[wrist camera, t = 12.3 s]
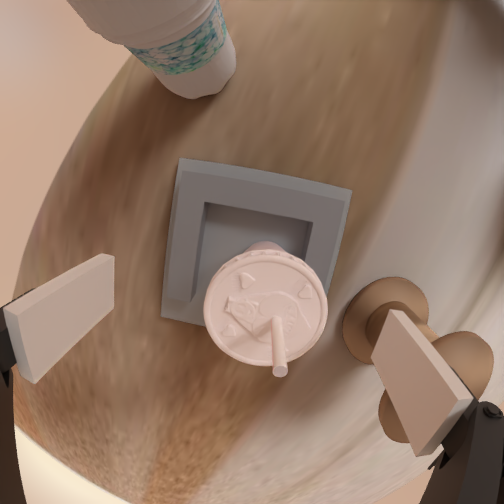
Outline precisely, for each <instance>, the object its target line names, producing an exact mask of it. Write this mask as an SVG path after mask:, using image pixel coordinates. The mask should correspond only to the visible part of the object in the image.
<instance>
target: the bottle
mask: <svg viewBox="0 0 504 504" xmlns="http://www.w3.org/2000/svg"><path fill="white" fill-rule="evenodd" d="M67 1H68V3H69V4H70V5H71V6H72V7H73V8H74V10H75V11H76V12H77V13H78V14H79V16H80V17H81V18H82V19H83V20H84V22H85V23H86V25H87V26H88V27H89V28H90V29H91V30H92V31H94V32H95V33H98V34H101V35H102V37H103V38H105V39H106V40H108V41H110V42H112V43H115V44H121V45H124V46H125V47H126V48H127V49H128V50H129V51H131V52H132V53H133V54H134V55H135V56H136V57H137V58H138V59H139V60H140V61H142V62H143V63H144V64H145V65H146V66H147V67H148V68H150V69H151V71H152V72H153V73H154V74H155V76H156V77H157V78H158V79H159V81H160V82H161V83H162V84H163V85H164V86H165V87H166V88H167V89H169V90H170V91H172V92H173V93H175V94H177V95H180V96H182V97H185V98H187V99H197V98H199V97H202V96H206V95H210V94H216V93H218V92H220V91H221V90H222V89H223V87H224V86H225V84H226V83H227V81H228V80H229V79H230V77H231V76H232V75H233V74H234V72H235V69H236V54H235V49H234V46H233V43H232V40H231V38H230V36H229V33H228V31H227V29H226V25H225V21H224V17H223V14H222V10H221V7H220V3H219V0H67Z"/></svg>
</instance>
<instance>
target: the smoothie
mask: <svg viewBox="0 0 504 504" xmlns="http://www.w3.org/2000/svg"><path fill="white" fill-rule="evenodd" d="M203 313H204V321H205V325H206V328H207V330H208V333H209V335H210V336H211V338H212V339H213V341H214V342H215V344H216V345H217V346H218V347H219V348H220V349H221V350H222V351H224V352H225V353H226V354H227V355H229V356H231V357H232V358H234V359H236V360H238V361H241V362H244V363H247V364H251V365H257V366H273V374H274V375H275V376H277V377H283V376H285V375H286V374H287V373H288V368H287V362H290V361H292V360H294V359H296V358H298V357H300V356H302V355H303V354H304V353H306V352H307V351H308V350H309V349H310V348H311V347H312V346H313V345H314V344H315V343H316V342H317V341H318V339H319V338H320V336H321V334H322V332H323V330H324V328H325V325H326V321H327V314H328V305H327V299H326V295H325V292H324V289H323V286H322V283H321V281H320V280H319V278H318V277H317V275H316V273H315V272H314V270H313V269H312V268H311V267H309V266H308V265H307V264H306V263H305V262H304V261H303V260H301V259H299V258H297V257H295V256H293V255H291V254H289V253H287V252H286V251H284V250H283V249H282V248H281V247H280V246H279V245H278V244H276V243H274V242H270V241H260V242H257V243H254V244H253V245H251V246H250V247H249V248H248V249H247V250H246V251H245V252H244V253H243V254H240V255H237V256H235V257H234V258H232V259H231V260H229V261H228V262H226V263H225V264H223V265H222V267H221V268H220V269H219V270H218V271H217V272H216V274H215V275H214V276H213V278H212V280H211V282H210V284H209V286H208V289H207V292H206V296H205V300H204V307H203Z"/></svg>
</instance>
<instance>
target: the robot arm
mask: <svg viewBox="0 0 504 504" xmlns="http://www.w3.org/2000/svg"><path fill="white" fill-rule="evenodd" d="M114 260H115V256H112V255H108V254H104V253H101V254H99V255H97V256H95V257H93V258H91V259H89V260H87V261H85V262H83V263H81V264H79V265H77V266H76V267H74V268H72V269H70V270H68V271H66V272H64V273H63V274H61V275H59V276H57V277H55V278H54V279H52V280H50V281H48V282H46V283H45V284H43V285H41V286H39V287H37V288H34V289H31V290H30V291H28V292H26V293H24V295H21V296H19V297H18V298H17V299H14V300H12V301H11V302H9V303H7V304H6V305H4V306H2V307H1V308H0V504H27V503H26V499H25V495H24V490H23V486H22V481H21V476H20V470H19V464H18V458H17V449H16V441H15V430H14V413H13V372H12V369H11V367H12V366H14V365H15V364H16V363H17V366H18V369H19V373H20V376H22V377H23V378H25V379H27V380H28V381H30V382H32V383H33V384H36V383H37V382H38V381H39V380H40V379H41V378H42V377H43V376H44V375H45V374H46V373H47V372H48V371H49V370H50V369H51V368H52V367H53V366H54V365H55V364H56V363H57V362H58V361H59V360H60V359H61V358H62V357H63V356H64V355H65V354H66V353H67V352H68V351H69V350H70V349H71V348H72V347H73V346H74V345H75V344H76V343H77V342H78V341H79V340H80V339H81V338H82V337H84V336H85V335H86V334H87V333H88V332H89V331H90V330H91V329H92V328H93V327H94V326H95V325H96V324H97V323H98V322H99V321H101V320H102V319H103V318H104V317H105V316H106V315H107V314H108V313H109V312H110V311H111V310H113V309H114ZM371 359H372V361H373V363H374V365H375V367H376V369H377V372H378V374H379V376H380V378H381V380H382V382H383V384H384V386H385V388H386V390H387V393H388V395H389V397H390V399H391V401H392V403H393V406H394V408H395V410H396V412H397V414H398V417H399V419H400V421H401V423H402V426H403V428H404V430H405V433H406V435H407V437H408V439H409V442H410V444H411V447H412V449H413V451H414V454H415V456H416V457H418V456H424V455H430V454H432V453H433V452H434V451H435V450H436V449H437V447H438V446H439V445H440V444H442V446H443V448H444V450H443V451H442V452H441V454H440V455H439V456H438V457H437V458H436V459H435V460H434V461H433V463H432V464H431V465H430V466H429V467H428V469H429V470H430V469H431V468H432V467H433V466H435V468H434V470H433V473H432V476H431V478H430V480H429V483H428V485H427V488H426V490H425V492H424V494H423V497H422V499H421V501H420V503H419V504H504V416H503V413H502V411H501V410H500V409H499V408H498V407H497V406H496V405H494V404H493V403H490V402H487V401H484V402H480V403H479V401H478V400H477V399H476V397H475V396H474V395H473V393H472V392H471V391H470V389H469V388H468V387H467V385H466V384H464V382H463V380H462V379H461V378H459V375H458V374H457V373H456V371H455V370H454V369H453V368H452V367H450V366H449V365H448V364H447V363H446V362H445V360H444V359H443V358H442V357H441V355H440V354H439V353H438V352H437V350H436V349H435V348H434V347H433V346H432V344H431V343H430V342H429V341H428V340H427V338H426V337H425V336H424V335H423V334H422V333H421V331H420V330H419V329H418V328H417V327H416V326H415V324H414V323H413V322H412V321H411V320H410V319H409V318H408V316H407V315H406V314H405V313H404V312H403V311H399V310H392V309H390V310H389V313H388V315H387V318H386V321H385V323H384V326H383V328H382V331H381V333H380V336H379V338H378V341H377V343H376V346H375V348H374V350H373V353H372V355H371Z"/></svg>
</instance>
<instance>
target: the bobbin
mask: <svg viewBox="0 0 504 504" xmlns="http://www.w3.org/2000/svg"><path fill="white" fill-rule="evenodd" d="M390 309H392V310H399V311H403V312H404V313H405V314H406V315H407V316H408V318H409V319H410V320H411V321H412V322H413V323H414V324H415V326H416V327H417V328H418V329H419V330H420V331H421V333H422V334H423V335H424V336H425V337H426V338H427V340H428V341H429V342H430V343H431V344H432V346H433V347H434V348H435V349H436V350H437V352H438V353H439V354H440V355H441V357H442V358H443V359H444V360H445V362H446V363H447V364H448V365H449V366H450V367H452V368H453V369H454V370H455V371H456V373H457V374H458V375H459V378H461V379H462V380H463V382H464V384H466V385H467V387H468V388H469V389H470V391H471V392H472V393H473V395H474V396H475V397H476V399H477V400H479V398H480V397H481V395H482V394H483V392H484V390H485V389H486V387H487V385H488V382H489V380H490V377H491V374H492V370H493V364H494V357H493V352H492V349H491V347H490V346H489V345H488V343H486V342H485V341H484V340H483V339H482V338H481V337H479V336H478V335H477V334H475V333H472V332H468V331H460V332H454V333H451V334H447V335H445V336H443V337H440V338H439V337H438V336H437V335H436V334H435V333H434V332H433V331H432V330H431V329H430V328H429V327H428V326H427V321H428V315H429V308H428V303H427V299H426V297H425V295H424V293H423V292H422V291H421V290H420V289H419V288H418V287H417V286H416V285H415V284H413V283H412V282H410V281H409V280H407V279H404V278H400V277H387V278H382V279H379V280H377V281H374V282H372V283H371V284H369V285H367V286H366V287H365V288H363V289H362V290H361V291H360V292H359V293H358V294H357V295H356V296H355V297H354V298H353V300H352V301H351V303H350V304H349V306H348V308H347V310H346V313H345V315H344V319H343V325H342V333H343V338H344V341H345V343H346V345H347V347H348V349H349V351H350V353H351V354H352V355H353V356H354V357H355V358H356V359H358V360H359V361H362V362H364V363H367V364H374V363H373V361H372V359H371V355H372V353H373V350H374V348H375V346H376V343H377V341H378V338H379V336H380V333H381V331H382V328H383V326H384V323H385V321H386V318H387V315H388V313H389V310H390ZM378 415H379V420H380V422H381V425H382V427H383V430H384V432H385V434H386V435H387V436H388V437H389V438H390V439H391V440H393V441H396V442H400V443H410V442H409V439H408V437H407V435H406V433H405V430H404V428H403V426H402V423H401V421H400V419H399V417H398V414H397V412H396V410H395V408H394V406H393V403H392V401H391V399H390V397H389V395H388V393H387V390H386V389H385V391H384V393H383V395H382V397H381V400H380V404H379V409H378Z"/></svg>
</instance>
